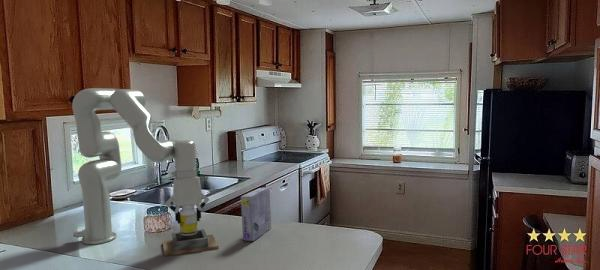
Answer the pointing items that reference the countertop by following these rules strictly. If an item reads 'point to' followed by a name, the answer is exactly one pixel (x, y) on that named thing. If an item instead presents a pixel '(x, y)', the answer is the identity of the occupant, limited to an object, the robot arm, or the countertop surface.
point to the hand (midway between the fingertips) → (188, 221)
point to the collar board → (189, 243)
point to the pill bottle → (188, 220)
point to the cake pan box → (255, 213)
